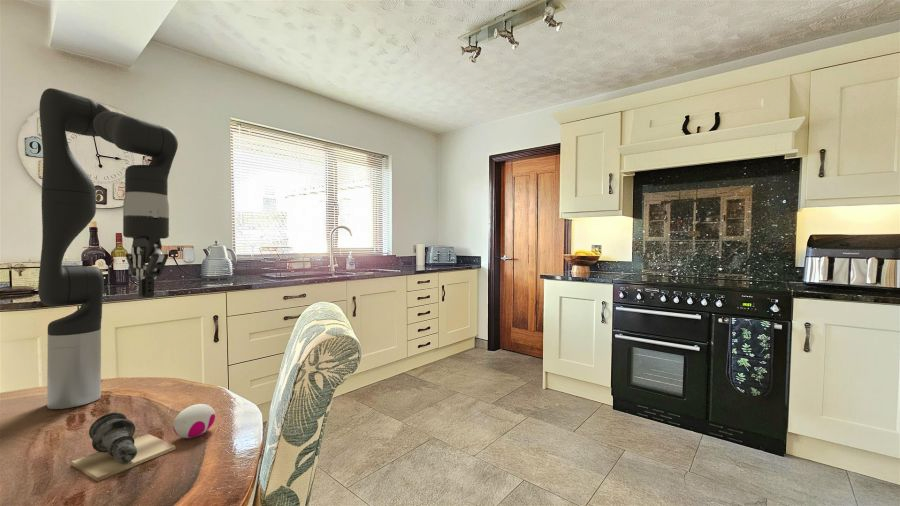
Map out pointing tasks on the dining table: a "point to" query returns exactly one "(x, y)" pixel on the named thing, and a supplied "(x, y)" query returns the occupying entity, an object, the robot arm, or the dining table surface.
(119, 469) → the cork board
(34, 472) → the dining table surface
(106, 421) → the grey chess piece
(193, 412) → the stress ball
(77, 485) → the dining table surface
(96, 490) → the dining table surface
